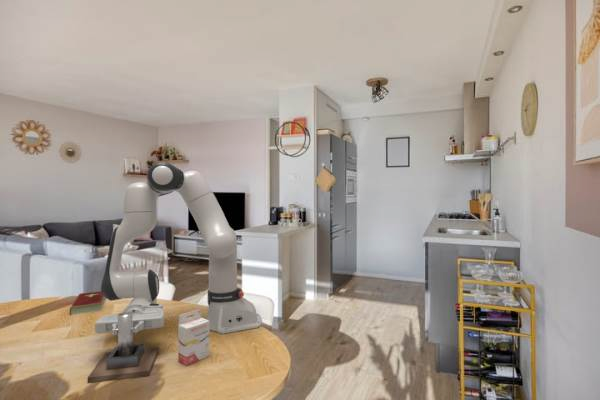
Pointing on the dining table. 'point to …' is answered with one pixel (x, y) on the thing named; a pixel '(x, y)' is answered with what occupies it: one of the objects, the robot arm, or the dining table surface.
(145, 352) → the socket board
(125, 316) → the steel pin
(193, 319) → the ink cartridge box
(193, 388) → the dining table surface
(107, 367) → the socket collar
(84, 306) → the hardcover book
